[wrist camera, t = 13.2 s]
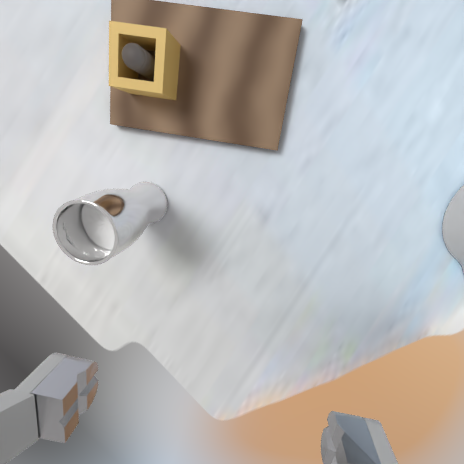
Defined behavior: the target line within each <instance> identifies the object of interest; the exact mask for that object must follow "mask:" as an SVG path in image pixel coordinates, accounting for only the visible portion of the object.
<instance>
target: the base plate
mask: <svg viewBox="0 0 464 464" xmlns="http://www.w3.org/2000/svg"><path fill="white" fill-rule="evenodd" d="M111 21H115V22H123V23H130V24H138V25H145V26H153V27H160V28H166V29H167V30H168V31H169V32H170V33H171V34H172V36H173V37H174V38H175V39H176V40H177V41H178V43H179V44H180V45H181V47H180V60H179V72H178V85H177V98H176V100H169V99H163V98H156V97H149V96H143V95H136V94H130V93H127V92H124V91H122V90H119V89H116V88H114V87H111V94H110V124H112V125H119V126H125V127H131V128H138V129H144V130H150V131H157V132H163V133H169V134H176V135H182V136H188V137H195V138H201V139H207V140H214V141H220V142H226V143H233V144H239V145H246V146H252V147H258V148H265V149H271V150H278V145H279V139H280V134H281V129H282V124H283V119H284V113H285V108H286V103H287V98H288V93H289V87H290V82H291V77H292V72H293V67H294V61H295V56H296V51H297V46H298V41H299V35H300V30H301V25H302V19H295V18H287V17H279V16H271V15H263V14H256V13H248V12H240V11H232V10H224V9H216V8H209V7H201V6H193V5H185V4H177V3H169V2H162V1H154V0H111ZM122 59H123V61H124V63H125V64H126V66H127V67H129V68H130V69H132V70H134V71H136V72H137V73H138V80H144V81H150V82H154V69H155V51H149V50H145V49H143V48H142V47H141V46H140V45H138V44H136V43H128V44H126V45H125V46H124V47H123V50H122Z"/></svg>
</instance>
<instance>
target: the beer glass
mask: <svg viewBox="0 0 464 464" xmlns="http://www.w3.org/2000/svg"><path fill="white" fill-rule="evenodd" d="M167 206H168V203H167V198H166V195H165V193H164V192H163V191H162V189H161V188H160V187H158V186H157V185H155V184H153V183H150V182H140V183H137V184H135V185H134V186H132V187H131V188H130V189H104V190H100V191H95V192H92V193H89V194H86V195H84V196H82V197H79V198H77V199H75V200H72V201H69V202H66V203H65V204H63V205H62V206H61V207H60V208H59V209H58V210H57V212H56V214H55V216H54V219H53V233H54V237H55V240H56V242H57V244H58V245H59V247H60V248H61V250H62V251H63V252H64V253H65V254H66V255H67V256H68V257H70V258H71V259H73V260H74V261H76V262H79V263H81V264H85V265H98V264H102V263H104V262H106V261H108V260H109V259H110V258H112V257H114V256H116V255H118V254H119V253H121V252H123V251H124V250H126V249H127V248H129V247H130V246H131V245H132V244H133V243H135V242H136V241H137V240H138V238H139V237H140V236H141V235H142V234H143V232H144V231H145V229H146V228H147V226H148V225H149V224H151V223H155V222H157V221H159V220H161V219H162V218H163V217H164V215H165V213H166V211H167Z"/></svg>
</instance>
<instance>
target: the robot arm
mask: <svg viewBox="0 0 464 464" xmlns="http://www.w3.org/2000/svg"><path fill="white" fill-rule="evenodd" d="M442 232H443V238H444V242H445V245H446V247H447V249H448V250H449V252H450V253H451V254H452V256H453V257H454V258H455V259H456V260H457V261H458V262H459V263H460V264H461V266H462V269H463V273H464V185H463V186H462V187H461V188H460V189H459V190H458V191H457V193H456V194H455V195H454V197H453V198H452V200H451V201H450V203H449V205H448V207H447V209H446V212H445V215H444V219H443V226H442ZM97 371H98V365H97V362H95V361H90V360H86V359H82V358H78V357H74V356H70V355H64V354H60V353H56V352H55V353H53V354H51V355H50V356H48V357H47V358H46V360H44V361H43V363H41V364H40V365H39V366H38V367H37V368H36V369H35V370H34V371H33V372H32V373H31V374H30V375H29V376H28V377H27V378H26V379H25V380H24V381H23V382H22V383H21V384H20V385H19V386H18V387H17V388H16V389H15V390H11V389H9V390H8V391H5V392H3V393H1V394H0V464H6V463H7V462H9V461H10V460H12V459H13V458H14V457H16V456H17V455H18V454H20V453H21V452H23V451H24V450H26V449H27V448H28V447H30V446H31V445H32V444H34V443H35V442H37V441H38V440H39V438H41V439H46V440H51V441H56V442H62V443H66V441H67V440H68V438H69V437H70V435H71V434H72V432H73V431H74V429H75V428H76V426H77V425H78V423H79V415H80V414H82V413H84V412H85V411H87V409H88V408H89V407H90V405H91V404H92V402H93V400H94V397H95V395H96V392H97V387H98V380H97V378H96V377H95V376H94V375H95V373H96V372H97ZM327 420H328V424H329V426H328V427H326V428H325V429H324V430H323V433H322V438H321V454H322V460H323V463H324V464H398V462H397V460H396V458H395V455H394V453H393V451H392V448H391V446H390V443H389V441H388V439H387V436H386V434H385V432H384V430H383V427H382V425H381V423H380V422H379V421H378V420H373V419H368V418H363V417H359V416H354V415H349V414H344V413H339V412H334V411H331V412H330V413H329V416H328V419H327Z"/></svg>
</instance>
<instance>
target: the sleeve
mask: <svg viewBox="0 0 464 464" xmlns="http://www.w3.org/2000/svg"><path fill="white" fill-rule="evenodd" d="M128 43H136V44H138V45H140V46H141V47H142V48H143V49H145V50H149V51H155V69H154V82H150V81H144V80H138V73H137V72H136V71H134V70H132V69H130V68H129V67H127V66H126V64H125V63H124V61H123V59H122V50H123V47H124V46H125V45H126V44H128ZM180 47H181V45H180V44H179V43H178V41H177V40H176V39H175V38H174V37H173V36H172V34H171V33H170V32H169V31H168V30H167V29H166V28H160V27H153V26H145V25H138V24H130V23H123V22H115V21H109V86H111V87H114V88H116V89H119V90H122V91H124V92H127V93H130V94H136V95H143V96H149V97H156V98H163V99H169V100H176V98H177V85H178V72H179V60H180Z"/></svg>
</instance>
